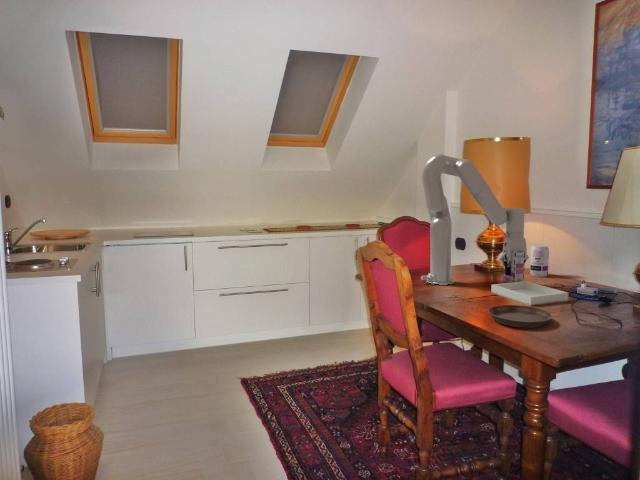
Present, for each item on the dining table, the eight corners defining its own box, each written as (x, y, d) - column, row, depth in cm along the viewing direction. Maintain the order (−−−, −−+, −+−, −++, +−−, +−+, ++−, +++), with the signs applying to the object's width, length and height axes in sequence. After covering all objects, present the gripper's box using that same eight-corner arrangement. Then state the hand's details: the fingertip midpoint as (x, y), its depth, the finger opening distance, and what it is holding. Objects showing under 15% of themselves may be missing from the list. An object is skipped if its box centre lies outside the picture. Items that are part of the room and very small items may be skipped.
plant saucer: (553, 317, 182) (554, 308, 182) (549, 333, 164) (549, 323, 164) (493, 310, 192) (493, 302, 192) (483, 325, 174) (483, 316, 174)
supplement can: (544, 274, 255) (545, 244, 253) (550, 277, 247) (551, 246, 245) (527, 274, 256) (528, 244, 254) (532, 277, 248) (533, 246, 246)
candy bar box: (524, 287, 227) (525, 251, 225) (513, 288, 227) (514, 251, 225) (512, 282, 238) (513, 247, 236) (502, 282, 238) (503, 248, 236)
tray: (530, 306, 197) (531, 297, 196) (491, 292, 219) (491, 284, 219) (567, 301, 202) (568, 292, 202) (525, 288, 225) (525, 280, 224)
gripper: (504, 237, 223) (503, 277, 226) (536, 235, 229) (534, 274, 231) (493, 235, 230) (492, 274, 233) (524, 233, 236) (523, 271, 238)
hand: (513, 274), depth 232 cm, fingers closed on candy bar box, 5 cm apart
